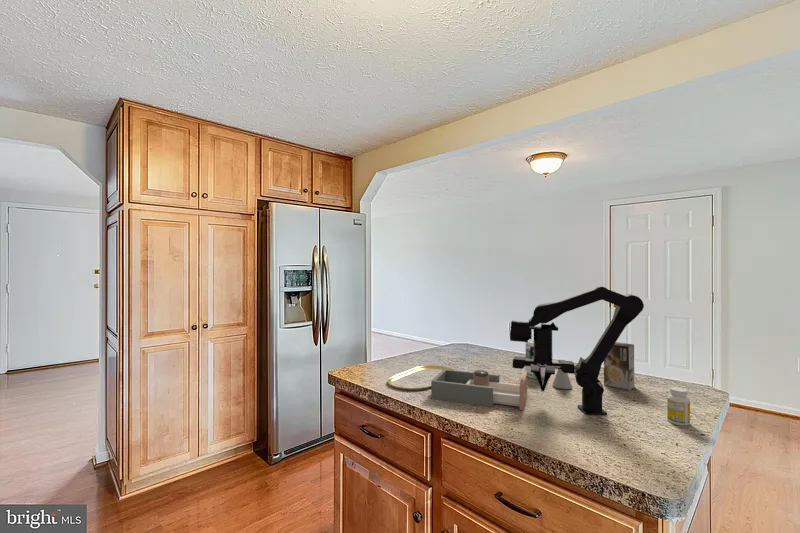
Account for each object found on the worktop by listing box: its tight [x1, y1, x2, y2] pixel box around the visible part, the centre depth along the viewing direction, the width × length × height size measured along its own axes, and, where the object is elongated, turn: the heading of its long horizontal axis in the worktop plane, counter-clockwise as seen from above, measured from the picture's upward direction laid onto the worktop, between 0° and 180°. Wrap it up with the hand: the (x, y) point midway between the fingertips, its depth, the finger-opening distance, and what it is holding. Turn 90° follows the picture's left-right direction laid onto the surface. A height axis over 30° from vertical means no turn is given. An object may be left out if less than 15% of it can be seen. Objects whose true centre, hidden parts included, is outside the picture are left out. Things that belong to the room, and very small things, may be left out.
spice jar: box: [473, 369, 490, 387], centre depth 132 cm, size 5×5×7 cm
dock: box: [430, 369, 500, 408], centre depth 134 cm, size 21×16×6 cm
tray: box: [466, 370, 528, 411], centre depth 131 cm, size 20×16×8 cm
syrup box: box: [524, 339, 545, 380], centre depth 157 cm, size 6×6×14 cm
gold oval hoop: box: [387, 364, 455, 392], centre depth 154 cm, size 19×35×2 cm, turn 145°
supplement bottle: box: [666, 386, 691, 427], centre depth 111 cm, size 5×5×10 cm
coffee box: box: [603, 341, 636, 391], centre depth 145 cm, size 9×6×16 cm
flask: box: [551, 359, 573, 390], centre depth 143 cm, size 7×7×10 cm
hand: (542, 390), depth 125 cm, fingers closed
